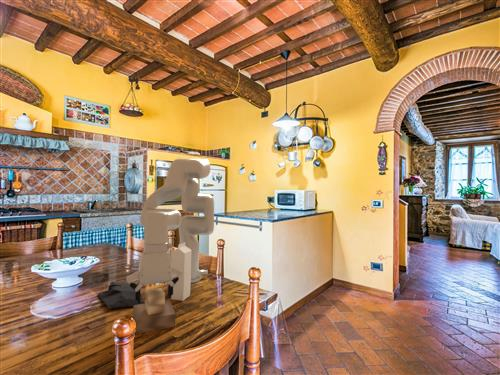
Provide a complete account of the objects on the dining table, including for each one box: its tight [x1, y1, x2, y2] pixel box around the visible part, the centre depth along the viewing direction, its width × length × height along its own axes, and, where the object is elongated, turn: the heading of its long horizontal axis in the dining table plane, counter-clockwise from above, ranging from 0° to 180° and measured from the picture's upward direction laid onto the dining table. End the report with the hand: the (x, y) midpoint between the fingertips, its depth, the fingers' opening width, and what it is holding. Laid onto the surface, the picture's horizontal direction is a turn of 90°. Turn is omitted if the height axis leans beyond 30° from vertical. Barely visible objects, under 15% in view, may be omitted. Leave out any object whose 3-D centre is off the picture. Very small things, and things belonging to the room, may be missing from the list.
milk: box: [170, 242, 192, 302], centre depth 106 cm, size 6×6×22 cm
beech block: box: [144, 287, 166, 315], centre depth 85 cm, size 5×5×6 cm
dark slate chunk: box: [98, 281, 145, 310], centre depth 103 cm, size 15×22×5 cm
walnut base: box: [132, 299, 177, 335], centre depth 85 cm, size 12×12×4 cm
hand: (154, 299), depth 86 cm, fingers open, 9 cm apart
